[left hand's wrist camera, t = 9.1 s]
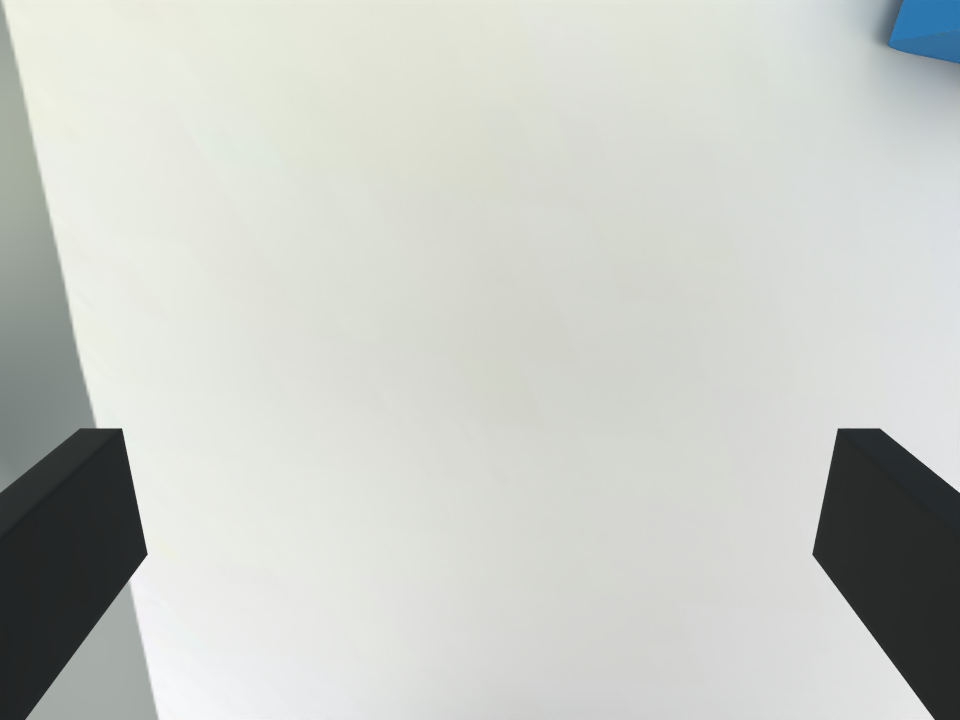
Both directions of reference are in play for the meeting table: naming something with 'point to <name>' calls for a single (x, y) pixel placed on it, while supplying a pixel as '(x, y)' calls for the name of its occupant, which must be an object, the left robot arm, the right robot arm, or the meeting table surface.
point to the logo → (928, 29)
